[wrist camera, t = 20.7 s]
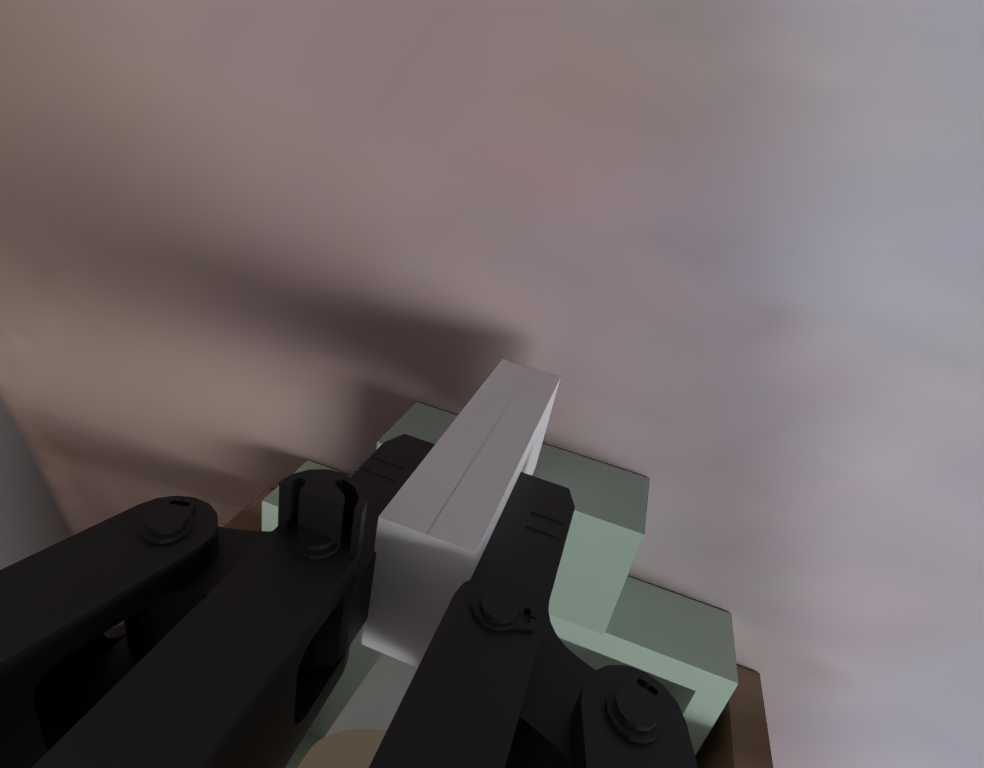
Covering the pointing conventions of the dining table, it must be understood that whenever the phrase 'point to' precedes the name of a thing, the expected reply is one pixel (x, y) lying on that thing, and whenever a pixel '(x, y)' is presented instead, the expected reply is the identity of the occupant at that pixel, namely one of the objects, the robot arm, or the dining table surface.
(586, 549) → the tray
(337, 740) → the coffee cup
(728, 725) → the hollow wooden crate
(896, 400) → the dining table surface
